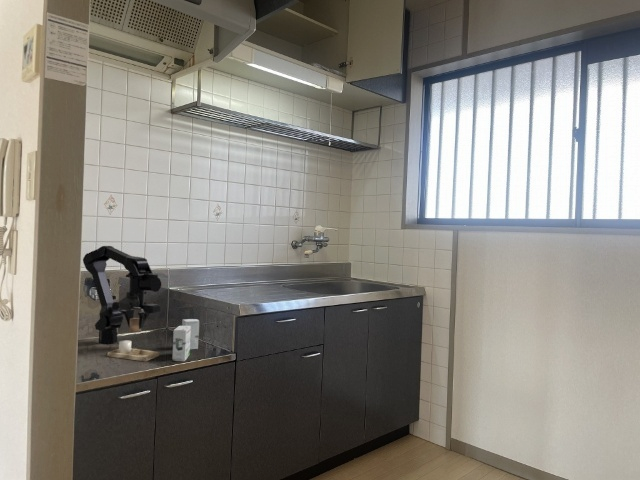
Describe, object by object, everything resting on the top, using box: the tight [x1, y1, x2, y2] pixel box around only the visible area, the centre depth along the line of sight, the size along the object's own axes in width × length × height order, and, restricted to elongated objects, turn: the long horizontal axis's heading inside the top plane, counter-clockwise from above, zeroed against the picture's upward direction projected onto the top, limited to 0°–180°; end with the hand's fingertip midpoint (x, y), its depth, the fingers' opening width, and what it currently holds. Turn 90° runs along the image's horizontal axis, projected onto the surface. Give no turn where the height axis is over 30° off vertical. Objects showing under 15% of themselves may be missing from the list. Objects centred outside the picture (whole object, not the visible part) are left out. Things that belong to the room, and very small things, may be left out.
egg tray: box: [107, 347, 160, 362], centre depth 185 cm, size 16×9×2 cm, turn 75°
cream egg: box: [118, 339, 132, 354], centre depth 186 cm, size 4×4×5 cm
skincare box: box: [181, 318, 200, 350], centre depth 201 cm, size 6×4×12 cm
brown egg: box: [128, 317, 142, 334], centre depth 196 cm, size 4×4×5 cm
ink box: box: [171, 325, 191, 362], centre depth 188 cm, size 9×5×12 cm, turn 3°
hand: (135, 328), depth 196 cm, fingers closed on brown egg, 4 cm apart
